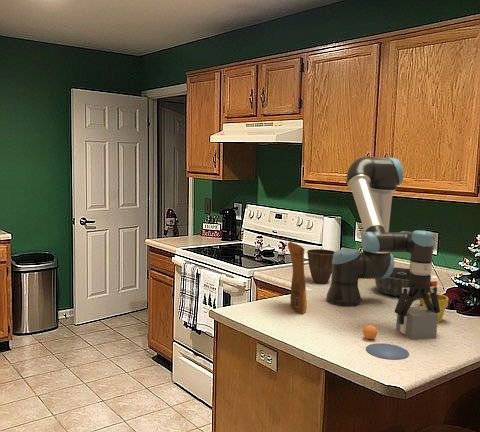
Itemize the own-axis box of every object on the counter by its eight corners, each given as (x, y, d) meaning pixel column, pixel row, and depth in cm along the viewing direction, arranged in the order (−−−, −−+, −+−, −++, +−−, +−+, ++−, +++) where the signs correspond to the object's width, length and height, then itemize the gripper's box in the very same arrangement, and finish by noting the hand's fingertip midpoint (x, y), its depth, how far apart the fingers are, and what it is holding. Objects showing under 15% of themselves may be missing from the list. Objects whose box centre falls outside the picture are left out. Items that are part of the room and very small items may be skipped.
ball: (360, 337, 188) (360, 323, 188) (372, 336, 189) (373, 322, 189) (366, 341, 183) (367, 328, 183) (379, 341, 185) (380, 327, 184)
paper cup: (437, 310, 224) (439, 278, 222) (418, 309, 225) (421, 277, 224) (434, 305, 232) (436, 274, 230) (416, 304, 233) (418, 273, 231)
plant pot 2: (443, 325, 204) (445, 301, 203) (416, 320, 209) (418, 296, 208) (448, 319, 213) (450, 295, 212) (422, 314, 218) (424, 291, 217)
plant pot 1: (308, 277, 277) (309, 248, 275) (336, 280, 273) (338, 250, 271) (303, 284, 263) (305, 253, 261) (333, 287, 259) (335, 255, 257)
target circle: (358, 345, 180) (358, 344, 180) (394, 342, 183) (394, 342, 183) (379, 361, 166) (379, 360, 166) (417, 358, 170) (417, 357, 170)
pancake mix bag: (293, 315, 211) (296, 247, 207) (284, 302, 230) (287, 239, 226) (309, 315, 211) (312, 247, 208) (299, 302, 230) (302, 239, 227)
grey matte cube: (396, 330, 197) (397, 307, 196) (419, 328, 200) (421, 306, 199) (411, 339, 187) (413, 315, 186) (436, 337, 190) (438, 314, 189)
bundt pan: (441, 296, 249) (442, 275, 248) (406, 303, 234) (407, 282, 233) (395, 283, 270) (397, 264, 269) (361, 290, 255) (362, 270, 254)
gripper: (398, 276, 184) (393, 337, 187) (453, 274, 190) (448, 333, 193) (386, 271, 191) (383, 330, 194) (440, 270, 197) (436, 326, 200)
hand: (415, 331), depth 193 cm, fingers closed on grey matte cube, 10 cm apart
